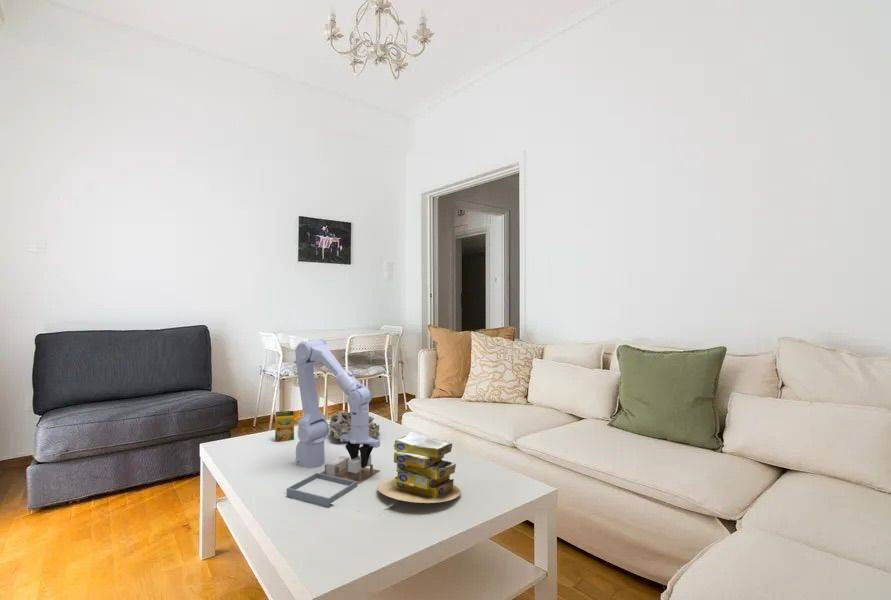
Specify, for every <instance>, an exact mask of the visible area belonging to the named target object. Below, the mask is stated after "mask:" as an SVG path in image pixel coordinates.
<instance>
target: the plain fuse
mask: <svg viewBox="0 0 891 600" xmlns="http://www.w3.org/2000/svg"><path fill="white" fill-rule="evenodd" d="M349 460H351V457H350V456H345V455H340V456H338V458H336V459H334V460H332V461H328V462H326V463H325V465H326V474H329V475H336V467H339V472H340V471H342V470H344V469H345V468H346V469H347V468H348V461H349Z"/></svg>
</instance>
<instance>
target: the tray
mask: <svg viewBox="0 0 891 600" xmlns="http://www.w3.org/2000/svg"><path fill="white" fill-rule="evenodd" d="M317 479H318V480H319V479H320V480H323V481H327V482H332V483H337V484H340V485H345V487H344V488H342V489H341V490H339V491H338V492H336V493H335V494H333V495H332V496H330V497H326V496H323V495H320V494H319V495H318V494H315V493H310V492H307V491H302V490H298V489H300V488H301V487H303V486H305V485H307V484H309V483H311V482H313V481H315V480H317ZM357 487H358V484H357V481H352V480H348V479H343V478H339V477H334V476H330V475H325V474H321V472H315V473H314V474H311V475H310V476H307V477H306V478H304V479H302V480H300V481H298V482H296V483H294V484H292V485H290V486H288V487H287V488H286V497H287V498H290V499H293V500H294V499H295V500H298V501H302V502H305V503H309V504H313V505H317V506H321V507H325V508H328V509H329V508H331V507H333V506H334V504H332V503H333V502H335V501H337V500H338V499H340V498H341V497H344V496H345V495H346V494H347V493H350V492H351V491H352V490H354V489H355V488H357Z"/></svg>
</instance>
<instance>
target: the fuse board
mask: <svg viewBox="0 0 891 600" xmlns="http://www.w3.org/2000/svg"><path fill="white" fill-rule="evenodd" d="M380 472H381V470H379V469H376V468H374V464H372V463H371V465H370V466H369V467H365V468H364V469H361V470H360V471H359V472H358V473H353V472H348V468H347V469H346V468H345V469H344V470H342V471H340V472H339V467H336V475H330V476H334V477H339V478H343V479H348V480H352V481H357V485H361V484H362V483H364V482H365V481H367V480H368V479H370V478H371V477H373V476H375V475H376V474H377V473H380ZM320 473H321V474H325V475H329V474H326V464H324V470H323V471H321V472H320Z"/></svg>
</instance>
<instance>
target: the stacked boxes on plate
mask: <svg viewBox="0 0 891 600" xmlns="http://www.w3.org/2000/svg"><path fill="white" fill-rule="evenodd" d="M393 447H394V450H395V452H394V454H393V463H395V464H396V472H397V475H396V476H395V477H390V478H387V479H384V480H381V481H380V482H378V483H377V485H376V489H377V490H378V492H379V493H380V494H382V495H384V496H386V497H387V498H388V497H389V498H391V499H395V500H398V501H403V502H410V503H420V504H423V503H424V504H431V503H432V504H434V503H435V504H436V503H442V502H443V503H444V502H448V501H452V500H454V499H457V498H458V497H460V494H461V489H460V488H459V487H458V486H456V485H455V484H454V482H455V481H454V480H455V479H454V478H452V479H450V478H451V475H452V474H454V473H455V471H456V467H457V464H456V463H455V462H451V461H448V460H443V459H444V458H445V455H447V454H448V453H451V452H452V448H453V442H451V441H447V440H442V439H441V440H440V439H437V438H431V437H429V436H425V435H422V434H419V433H418V432H415V431H410V432H409V433H408V434H407V435H404V436H402V437H400V438H397V439H395V440H394V444H393Z"/></svg>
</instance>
